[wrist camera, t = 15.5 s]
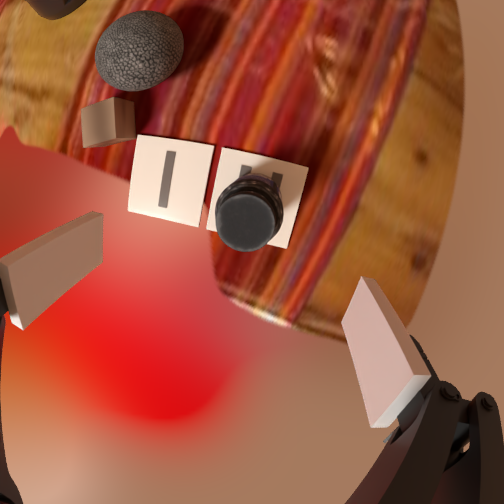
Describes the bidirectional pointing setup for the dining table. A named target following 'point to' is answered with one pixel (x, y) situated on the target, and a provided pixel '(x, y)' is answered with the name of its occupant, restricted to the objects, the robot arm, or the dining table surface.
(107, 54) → the decorative ball
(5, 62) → the dining table surface
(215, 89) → the dining table surface
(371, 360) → the robot arm
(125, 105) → the walnut block
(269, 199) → the pill bottle
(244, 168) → the coaster
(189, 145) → the coaster
